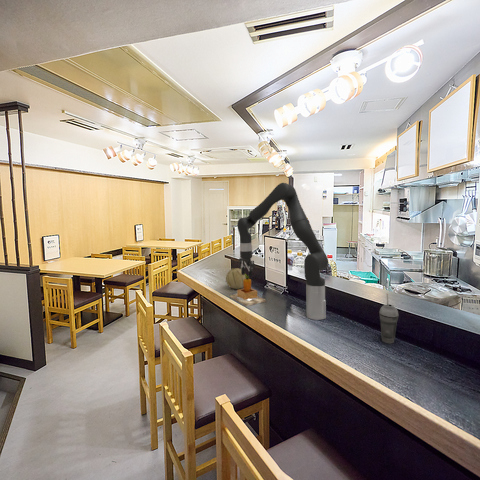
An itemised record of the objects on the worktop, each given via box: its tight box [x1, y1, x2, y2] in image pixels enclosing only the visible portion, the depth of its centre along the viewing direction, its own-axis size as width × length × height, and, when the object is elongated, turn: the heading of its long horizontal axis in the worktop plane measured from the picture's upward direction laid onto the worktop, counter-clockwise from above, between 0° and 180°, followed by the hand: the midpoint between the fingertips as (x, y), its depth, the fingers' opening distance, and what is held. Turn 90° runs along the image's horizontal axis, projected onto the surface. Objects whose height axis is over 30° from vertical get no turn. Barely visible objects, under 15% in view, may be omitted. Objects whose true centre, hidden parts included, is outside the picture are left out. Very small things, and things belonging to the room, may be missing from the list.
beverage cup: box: [378, 293, 399, 344], centre depth 116 cm, size 7×7×20 cm
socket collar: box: [236, 287, 258, 301], centre depth 175 cm, size 13×13×5 cm
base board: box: [229, 293, 267, 307], centre depth 175 cm, size 14×20×1 cm
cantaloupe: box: [225, 267, 246, 290], centre depth 199 cm, size 15×15×15 cm
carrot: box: [243, 272, 252, 293], centre depth 174 cm, size 5×5×15 cm
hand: (246, 275), depth 173 cm, fingers open, 8 cm apart
